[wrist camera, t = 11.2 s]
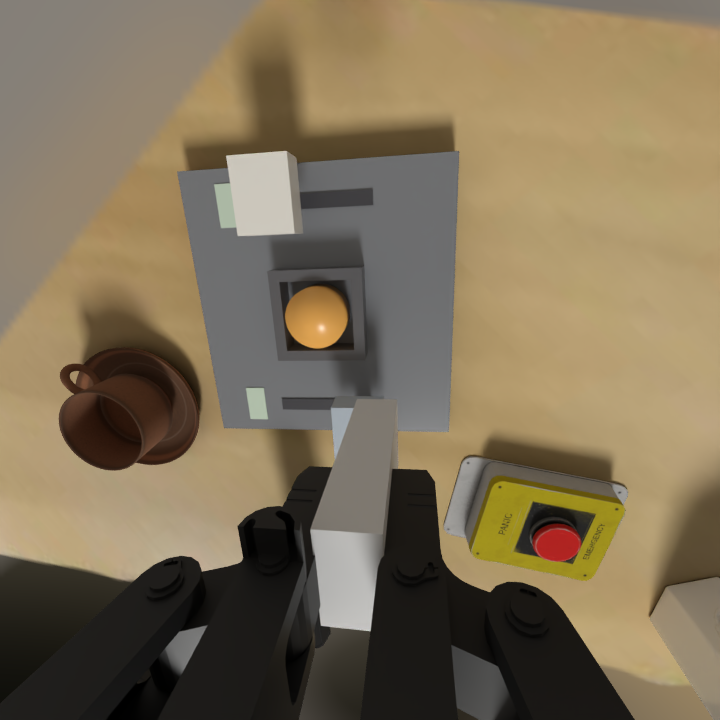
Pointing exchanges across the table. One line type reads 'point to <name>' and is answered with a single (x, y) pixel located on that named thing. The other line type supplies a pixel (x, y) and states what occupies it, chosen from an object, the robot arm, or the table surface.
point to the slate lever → (343, 416)
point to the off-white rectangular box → (265, 193)
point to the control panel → (346, 273)
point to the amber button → (317, 315)
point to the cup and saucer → (127, 410)
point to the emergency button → (534, 517)
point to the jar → (694, 635)
